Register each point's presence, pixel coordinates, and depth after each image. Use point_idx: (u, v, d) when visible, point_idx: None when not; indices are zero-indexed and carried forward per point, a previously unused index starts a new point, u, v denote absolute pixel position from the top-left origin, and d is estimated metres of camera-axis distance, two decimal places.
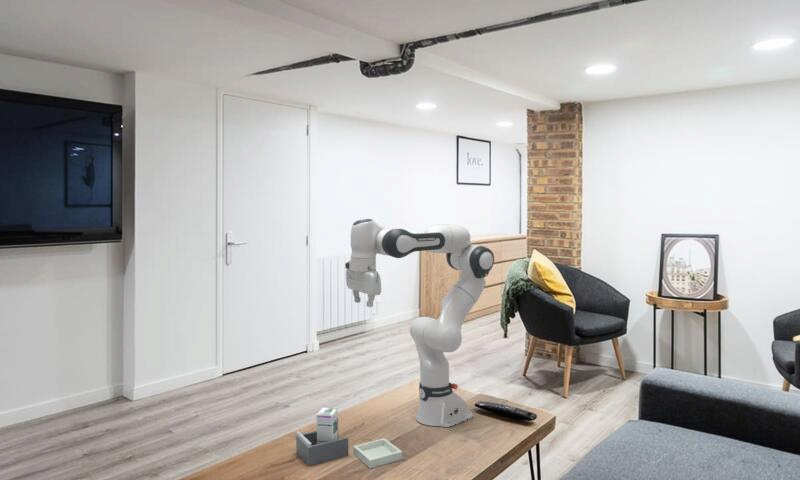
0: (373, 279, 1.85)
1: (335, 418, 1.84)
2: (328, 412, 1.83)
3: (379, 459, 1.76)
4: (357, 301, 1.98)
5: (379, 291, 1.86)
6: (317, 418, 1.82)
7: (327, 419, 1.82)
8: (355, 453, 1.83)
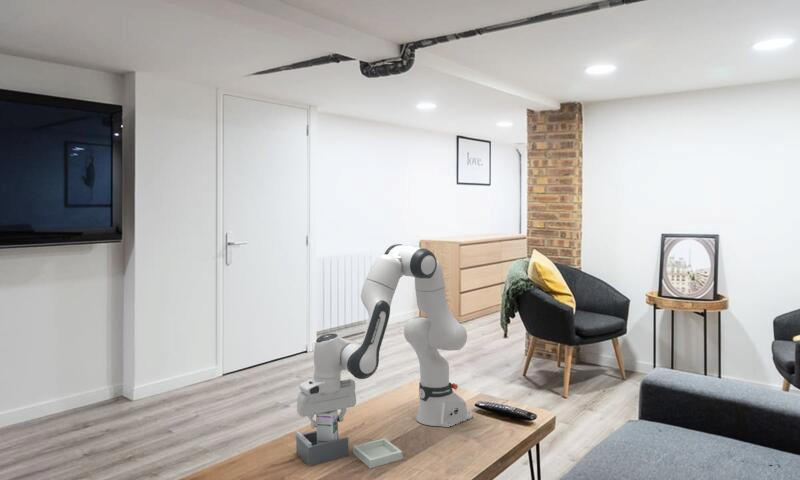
0: None
1: (334, 418, 1.84)
2: (328, 412, 1.83)
3: (379, 459, 1.76)
4: None
5: None
6: (317, 418, 1.82)
7: (327, 419, 1.82)
8: (355, 453, 1.83)
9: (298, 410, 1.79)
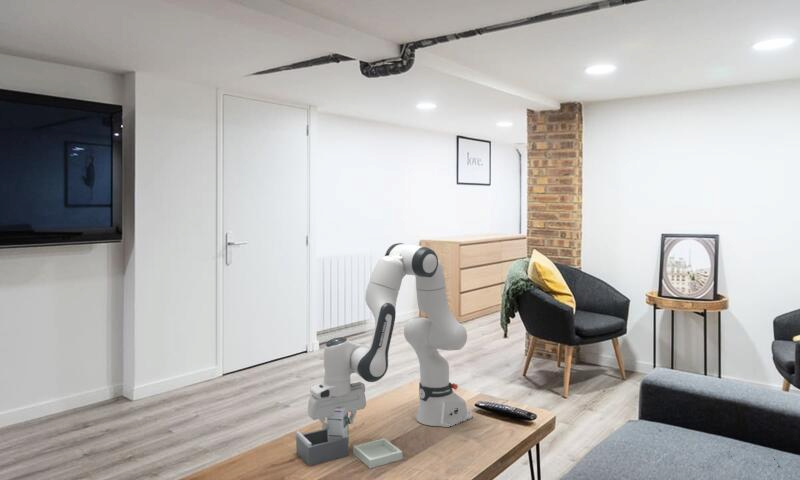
0: None
1: (345, 412, 1.86)
2: (338, 407, 1.85)
3: (379, 459, 1.76)
4: None
5: None
6: None
7: (337, 413, 1.84)
8: (355, 453, 1.83)
9: (309, 413, 1.81)
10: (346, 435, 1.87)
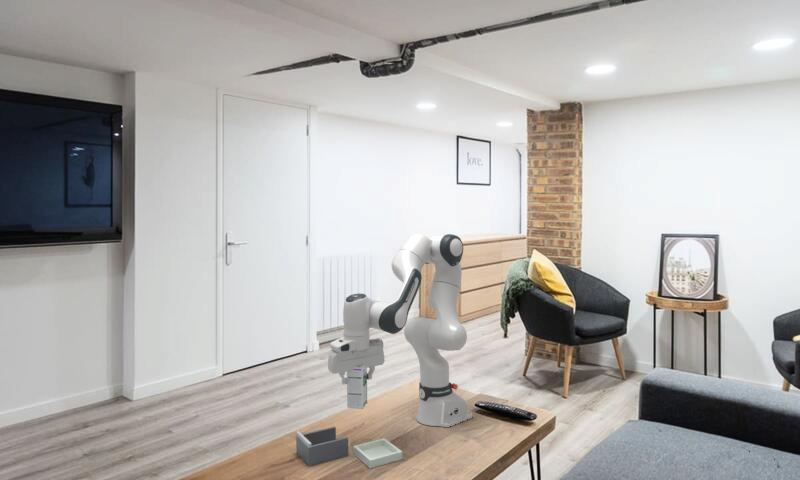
0: None
1: (364, 371, 1.89)
2: None
3: (379, 459, 1.76)
4: None
5: None
6: (347, 371, 1.87)
7: (357, 372, 1.86)
8: (355, 453, 1.83)
9: (329, 367, 1.84)
10: (365, 394, 1.89)
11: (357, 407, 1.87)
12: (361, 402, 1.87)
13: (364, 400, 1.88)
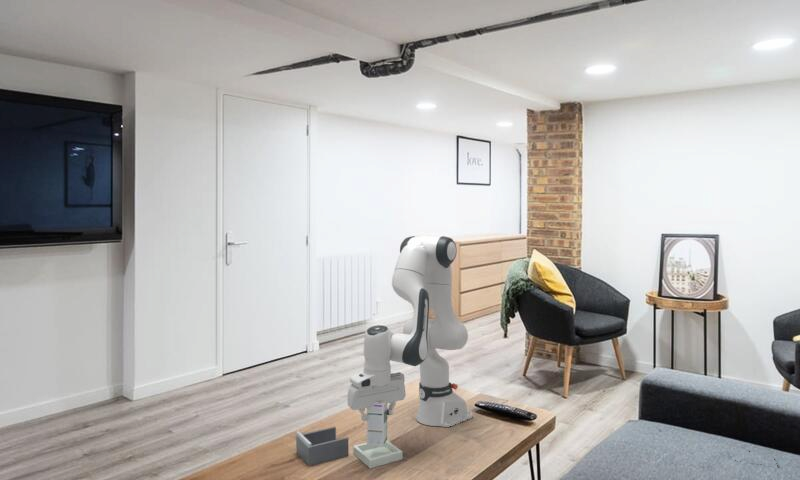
0: None
1: (385, 407, 1.81)
2: None
3: (379, 459, 1.76)
4: None
5: None
6: (368, 407, 1.79)
7: (378, 408, 1.79)
8: (355, 453, 1.83)
9: (349, 403, 1.76)
10: (385, 431, 1.82)
11: (377, 445, 1.79)
12: (381, 439, 1.79)
13: (384, 437, 1.80)
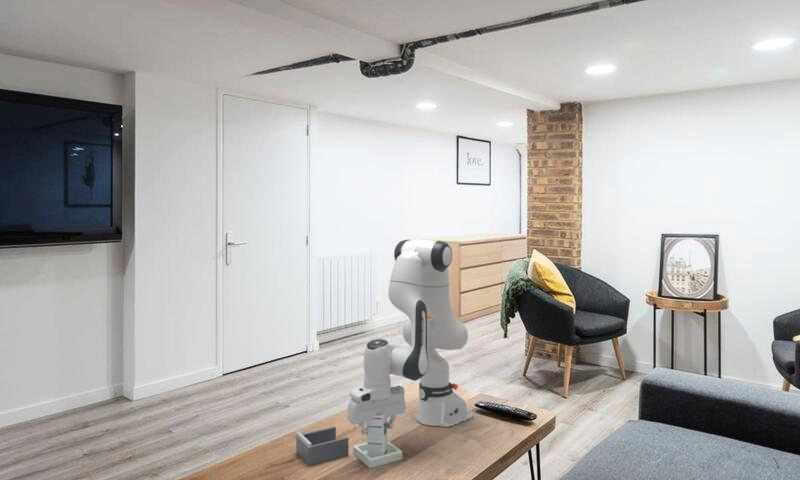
0: None
1: (385, 419, 1.81)
2: None
3: (379, 459, 1.76)
4: None
5: None
6: None
7: (378, 421, 1.79)
8: (355, 453, 1.83)
9: (349, 417, 1.77)
10: (385, 443, 1.82)
11: None
12: (382, 452, 1.79)
13: (385, 449, 1.81)
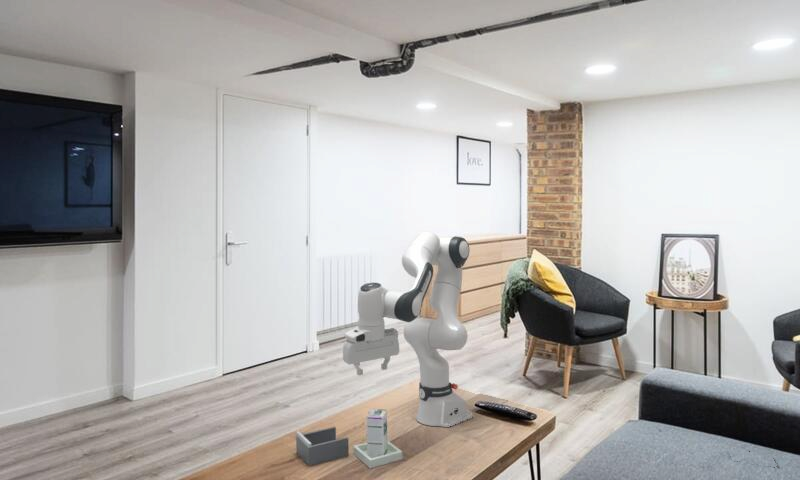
0: None
1: (385, 419, 1.81)
2: (378, 413, 1.80)
3: (379, 459, 1.76)
4: None
5: None
6: (367, 420, 1.79)
7: (378, 421, 1.79)
8: (355, 453, 1.83)
9: (344, 358, 1.80)
10: (385, 443, 1.82)
11: None
12: (382, 452, 1.79)
13: (385, 449, 1.81)
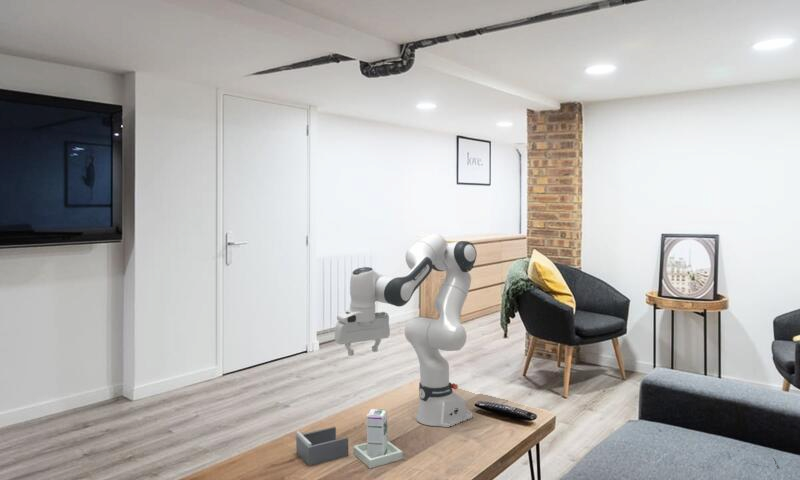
0: None
1: (385, 419, 1.81)
2: (378, 413, 1.80)
3: (379, 459, 1.76)
4: None
5: None
6: (367, 420, 1.79)
7: (378, 421, 1.79)
8: (355, 453, 1.83)
9: (336, 338, 1.88)
10: (385, 443, 1.82)
11: None
12: (382, 452, 1.79)
13: (385, 449, 1.81)
